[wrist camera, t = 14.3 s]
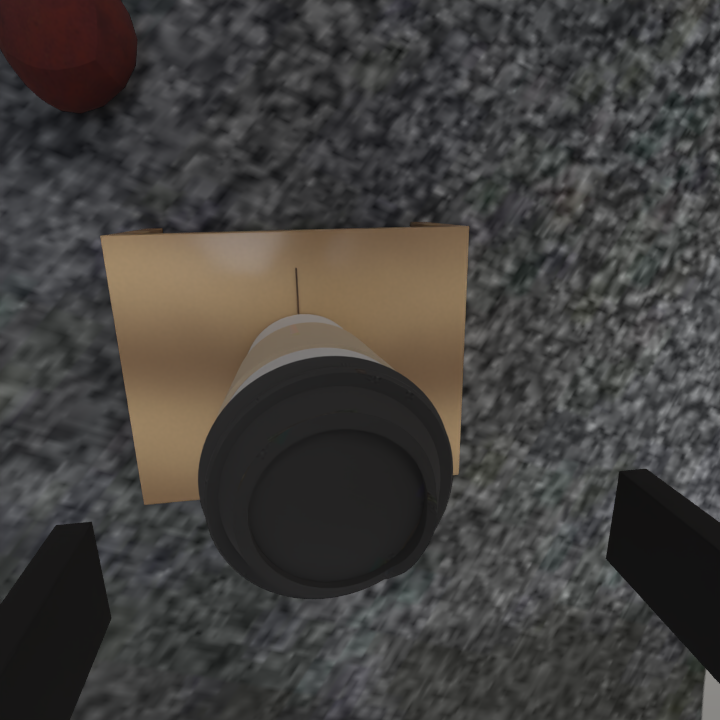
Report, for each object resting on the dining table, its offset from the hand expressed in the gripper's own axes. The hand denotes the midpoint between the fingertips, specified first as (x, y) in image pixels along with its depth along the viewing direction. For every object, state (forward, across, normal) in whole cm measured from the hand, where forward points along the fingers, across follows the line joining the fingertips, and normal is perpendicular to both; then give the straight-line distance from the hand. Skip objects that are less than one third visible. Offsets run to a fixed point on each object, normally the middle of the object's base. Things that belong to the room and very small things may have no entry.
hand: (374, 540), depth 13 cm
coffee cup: (+18, -1, -1) cm, 18 cm away
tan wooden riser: (+27, -1, -2) cm, 27 cm away
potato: (+28, -13, +18) cm, 35 cm away
